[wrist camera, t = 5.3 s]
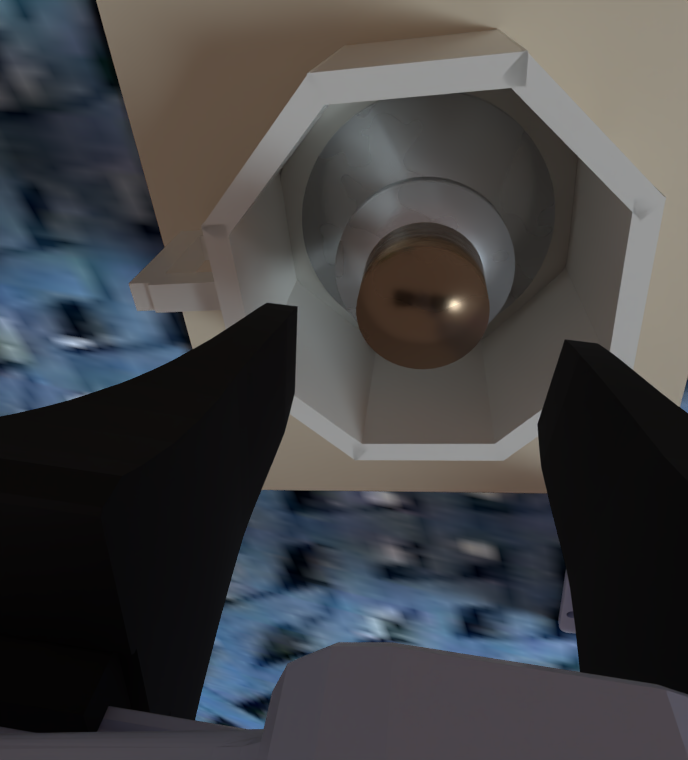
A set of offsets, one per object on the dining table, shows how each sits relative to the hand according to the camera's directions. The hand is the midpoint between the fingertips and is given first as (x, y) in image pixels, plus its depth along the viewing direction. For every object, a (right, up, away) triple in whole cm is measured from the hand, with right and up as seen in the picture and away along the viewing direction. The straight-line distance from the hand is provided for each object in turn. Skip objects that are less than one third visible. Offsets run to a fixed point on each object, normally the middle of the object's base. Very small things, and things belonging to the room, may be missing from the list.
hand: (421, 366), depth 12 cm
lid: (+1, +5, +7) cm, 8 cm away
